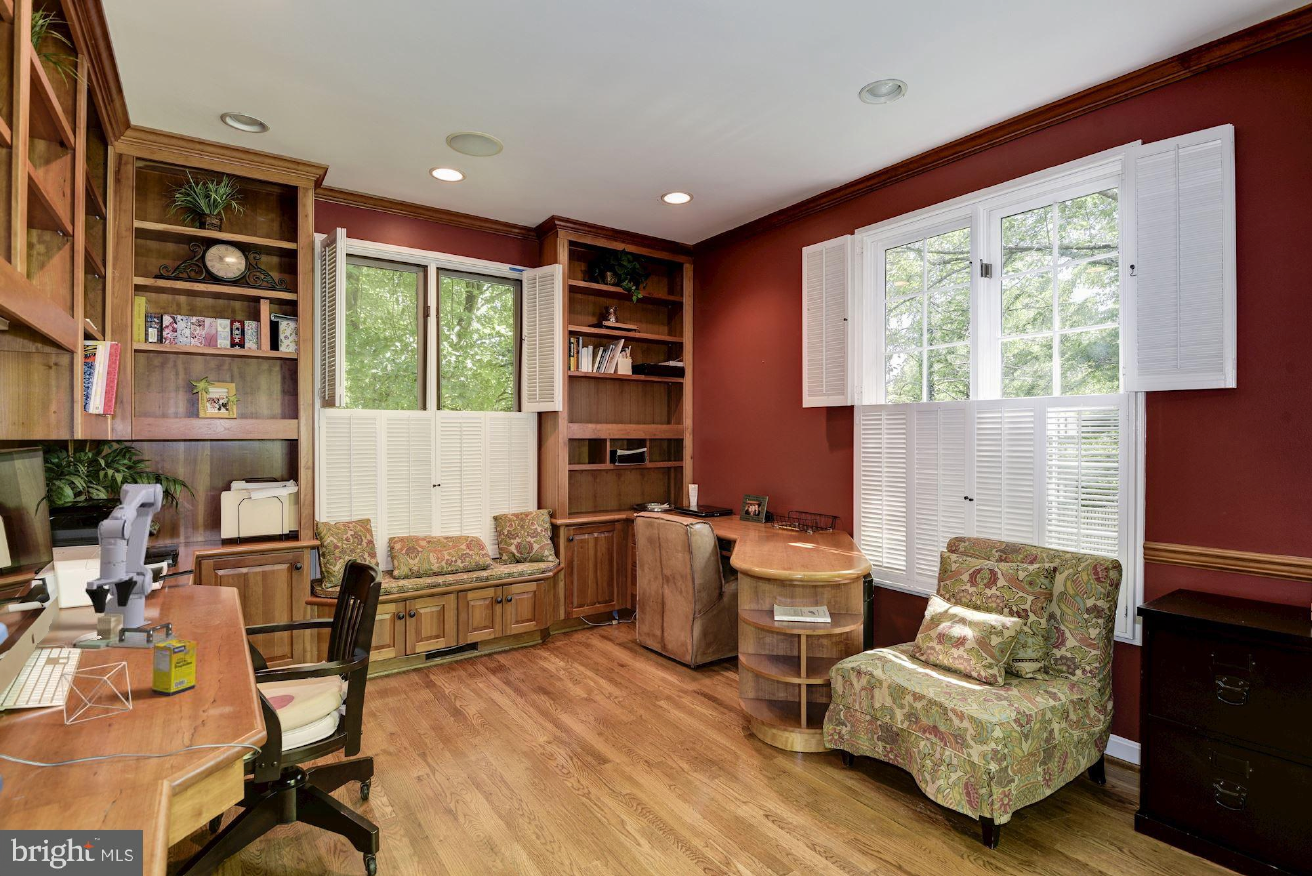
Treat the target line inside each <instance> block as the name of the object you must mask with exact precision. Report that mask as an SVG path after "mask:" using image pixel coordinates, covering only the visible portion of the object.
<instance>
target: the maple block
mask: <svg viewBox="0 0 1312 876" xmlns="http://www.w3.org/2000/svg"><path fill="white" fill-rule="evenodd" d="M122 627H123V615H119V614H109V615H105V616H104V615H102V616H97V628H96V637H97V636H101V637H102V638H100V639H108V640H111V639H114V638H117V637H119V630H120V629H121V628H122Z"/></svg>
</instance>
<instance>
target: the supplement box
mask: <svg viewBox="0 0 1312 876" xmlns="http://www.w3.org/2000/svg"><path fill="white" fill-rule="evenodd" d="M197 642H198V641H197V640H196V641H194V640H188V639H184V638H183V639H182V638H177V639H174V640H171V641H168V642H164V643H160V644H156V645H154V647H153V660H152V661H153V664H152V666H153V667H152V690H151V691H152V692H151V693H154V694H159V695H165V696H170V697H171V696H174V695H177V693H178V694H180V693H183V692H186V691H189V689H190V690H192V689H195V687H196V673H197V672H196V669H197V668H196V665H197V664H196V663H197Z"/></svg>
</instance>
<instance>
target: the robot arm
mask: <svg viewBox="0 0 1312 876" xmlns="http://www.w3.org/2000/svg"><path fill="white" fill-rule="evenodd" d="M119 494H120V495H119V497H120V501H121V504H120V505H118V506H116V507H115V508H114V509H113V511H112V512H111V513H110V515H109V517H107V519H104V520H103V521H100V523H98V527H97V538H98V545H99V547H100V556H99V557H100V560H99V577H98V578H95V579H93V580H90V581H87V582H86V588H85V591H84V592H85V593H86V594H87V596H88V597H89V599H90V600H91V603H92V606H93V610H94V613H95V614H103V616H105V615H109V614H119V615H123V627H125V628H141V627H143V626H145V625H149V624H151V623H152V621H149V620H145V610H146V609H145V605H146V596H148V595H149V594H150V593H151V592H152V588H153V582H154V581H153V576H154V575H153V571H152V569H151V568H149V567H148V566H146V565H145V564H144V563H145V559H146V558H145V557H146V553H147V552H146V551H147V546H148V540H149V534H150V530H151V529H150V528H151V523H152V519H153V516H154V514H156V513H159V512H160V511H161V510H160V509H161V507H162V503H163V502H162V501H163V495H164V493H163V486H162V485H161V484H160V483H152V484H151V483H150V484H149V483H147V484H146V483H139V484H138V483H136V484H135V483H124V484H123V485H122V486H121V488H120V493H119ZM127 541H128V543H127ZM106 586H108V587H107V588H105V587H106ZM108 595H110V598H109V599H107V598H108Z"/></svg>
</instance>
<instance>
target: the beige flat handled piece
mask: <svg viewBox="0 0 1312 876" xmlns="http://www.w3.org/2000/svg"><path fill="white" fill-rule="evenodd" d="M163 629H165V633H161V632H159V633H158V632H157V631H160V630H163ZM172 629H173V624H172V623H171V622H169V621H168V622H165V623H162V624H159V625H156V626H153V627H151V628H150V627H149V628H148V627H145V628H144V627H137V628H125V627H122V628H121V629H120V630H119V639H117V640H114V641H111V642H109V646H108V647H109V648H110V647H111V648H113V647H114V648H133V649H134V648H137V649H139V648H140V649H152V648H153V649H154V645H156V644H160V643H164V642H168V641H172V640H176V639H179V634H178V633H173V632H172V631H173V630H172ZM125 632H137V633H135V634H132V635H129V636H126V637H125Z"/></svg>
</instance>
